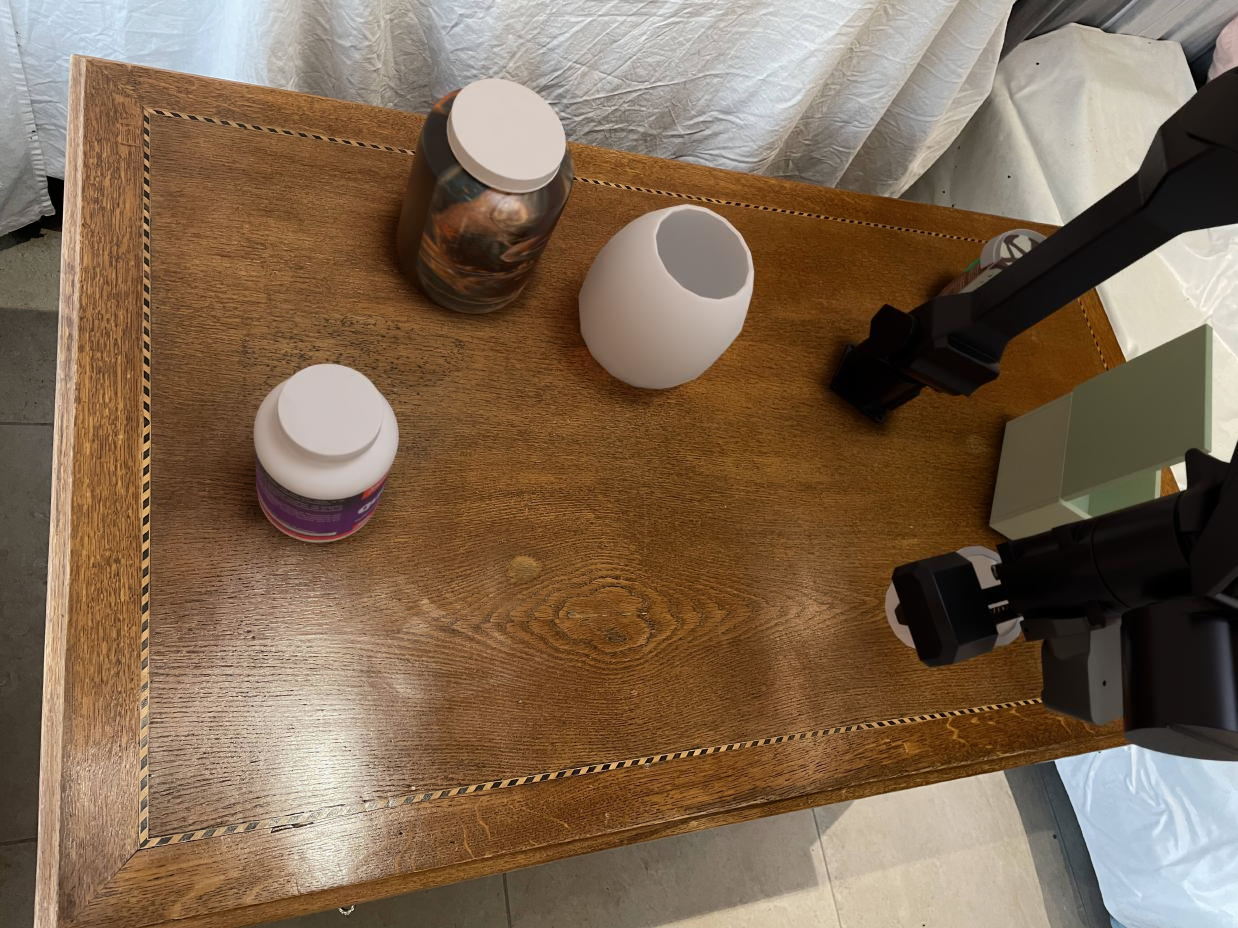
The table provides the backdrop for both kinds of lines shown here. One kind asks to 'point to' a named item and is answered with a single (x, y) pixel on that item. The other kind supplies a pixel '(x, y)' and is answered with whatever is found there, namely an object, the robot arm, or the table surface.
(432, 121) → the jar
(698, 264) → the cup
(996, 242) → the food container
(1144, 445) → the lid
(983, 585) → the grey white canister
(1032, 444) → the chest
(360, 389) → the pill bottle
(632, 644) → the table surface
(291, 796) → the table surface
